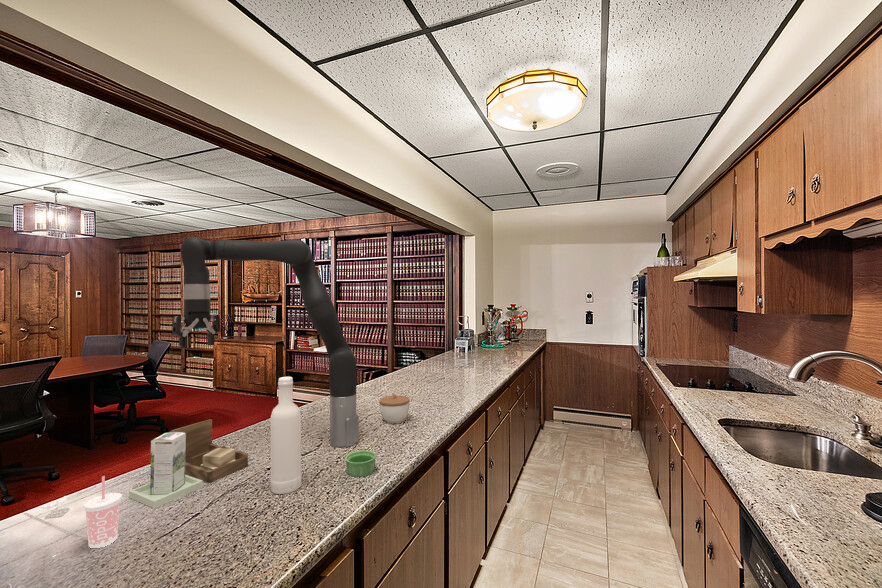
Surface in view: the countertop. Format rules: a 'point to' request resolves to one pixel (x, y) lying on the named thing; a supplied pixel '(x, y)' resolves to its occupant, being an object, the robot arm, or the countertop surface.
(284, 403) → the bottle
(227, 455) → the offcut top
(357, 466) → the ramekin
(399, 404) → the white lidded bowl
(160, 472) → the syrup box
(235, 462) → the open box
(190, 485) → the tray
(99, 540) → the beverage cup
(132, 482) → the countertop surface
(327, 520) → the countertop surface
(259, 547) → the countertop surface
